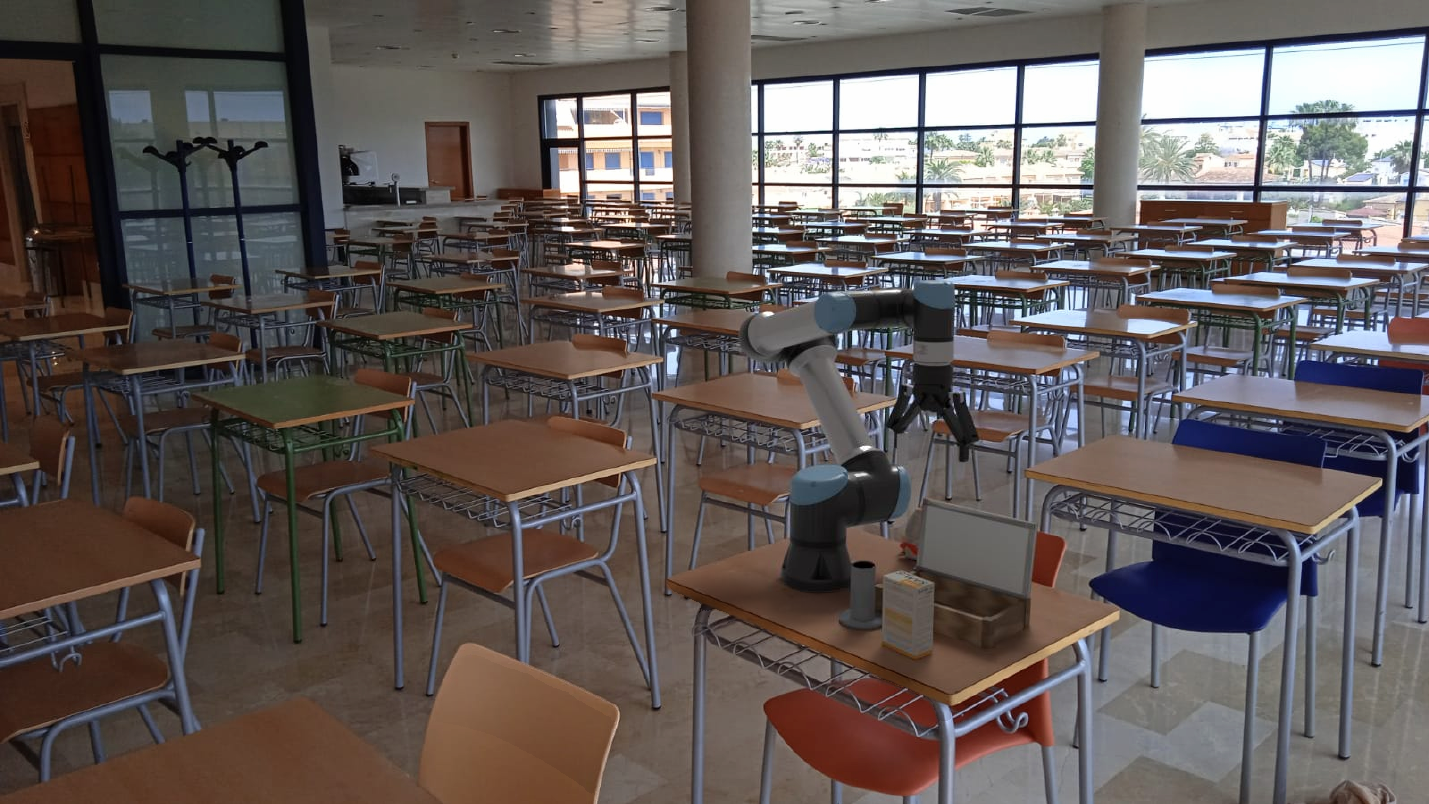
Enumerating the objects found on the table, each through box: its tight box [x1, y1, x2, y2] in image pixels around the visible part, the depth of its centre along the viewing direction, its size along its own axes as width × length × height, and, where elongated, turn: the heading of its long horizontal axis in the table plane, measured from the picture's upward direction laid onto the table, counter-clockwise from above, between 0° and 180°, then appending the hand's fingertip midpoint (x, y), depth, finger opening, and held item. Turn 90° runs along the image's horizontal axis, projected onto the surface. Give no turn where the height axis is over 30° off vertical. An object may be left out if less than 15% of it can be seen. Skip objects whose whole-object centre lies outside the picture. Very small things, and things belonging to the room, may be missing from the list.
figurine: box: [899, 507, 922, 561], centre depth 230 cm, size 9×7×12 cm
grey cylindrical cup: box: [849, 560, 877, 621], centre depth 196 cm, size 4×4×10 cm
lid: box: [914, 497, 1039, 600], centre depth 200 cm, size 24×14×1 cm
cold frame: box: [875, 567, 1032, 651], centre depth 197 cm, size 25×15×5 cm, turn 46°
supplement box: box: [881, 570, 935, 660], centre depth 183 cm, size 8×5×13 cm, turn 35°
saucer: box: [839, 608, 883, 631], centre depth 197 cm, size 8×8×1 cm
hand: (930, 471), depth 202 cm, fingers open, 13 cm apart
